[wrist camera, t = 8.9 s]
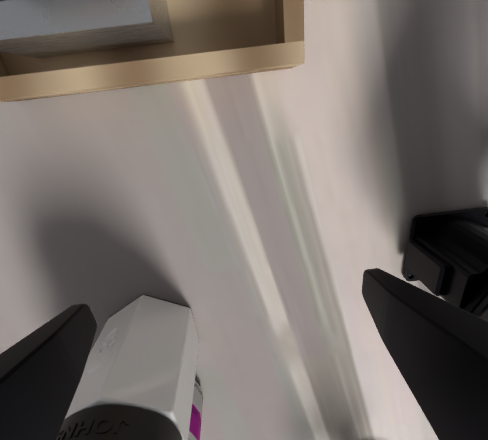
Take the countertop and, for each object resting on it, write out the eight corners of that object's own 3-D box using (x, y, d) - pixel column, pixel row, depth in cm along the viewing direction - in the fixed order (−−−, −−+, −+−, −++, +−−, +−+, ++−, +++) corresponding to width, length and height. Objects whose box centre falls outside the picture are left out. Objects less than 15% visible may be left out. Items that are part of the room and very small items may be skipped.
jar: (159, 279, 24) (102, 431, 13) (217, 331, 27) (210, 490, 16) (90, 327, 26) (-9, 494, 15) (152, 370, 29) (106, 536, 18)
